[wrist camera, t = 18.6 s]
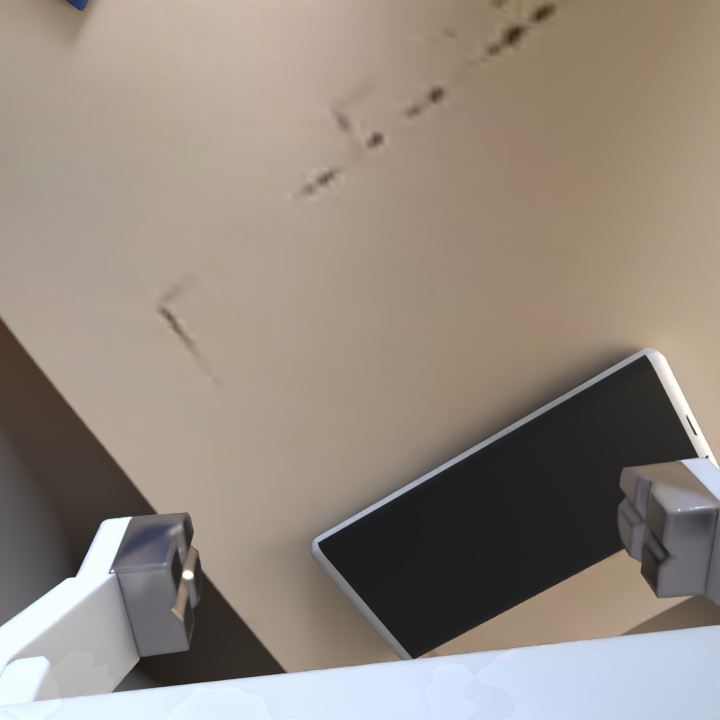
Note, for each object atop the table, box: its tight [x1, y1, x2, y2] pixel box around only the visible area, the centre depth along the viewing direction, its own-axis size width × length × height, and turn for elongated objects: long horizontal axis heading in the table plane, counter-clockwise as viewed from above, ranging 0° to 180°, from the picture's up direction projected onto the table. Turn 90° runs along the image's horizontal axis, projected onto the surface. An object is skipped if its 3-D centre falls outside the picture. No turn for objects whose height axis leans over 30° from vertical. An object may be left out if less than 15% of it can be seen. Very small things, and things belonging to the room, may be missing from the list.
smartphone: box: [311, 348, 720, 660], centre depth 48 cm, size 13×27×2 cm, turn 123°
